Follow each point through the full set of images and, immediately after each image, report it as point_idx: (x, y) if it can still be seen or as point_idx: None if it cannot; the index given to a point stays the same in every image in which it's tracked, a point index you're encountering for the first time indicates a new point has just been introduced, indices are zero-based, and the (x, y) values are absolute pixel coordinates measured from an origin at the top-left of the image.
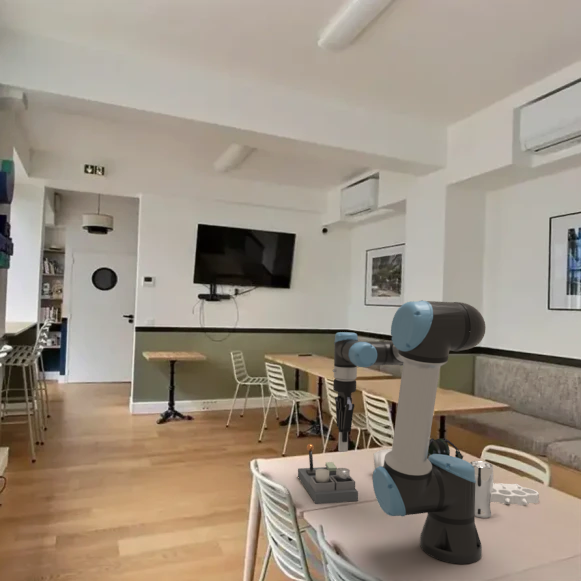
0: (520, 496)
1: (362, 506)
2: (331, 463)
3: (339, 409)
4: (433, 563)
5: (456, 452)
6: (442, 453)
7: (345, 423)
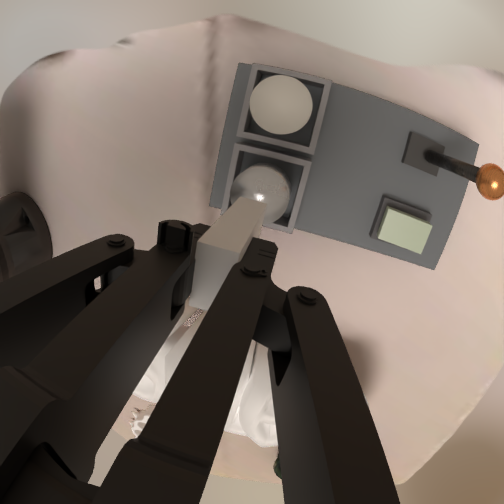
0: (132, 427)
1: (182, 190)
2: (415, 241)
3: (132, 440)
4: (4, 184)
5: None
6: None
7: (44, 270)
